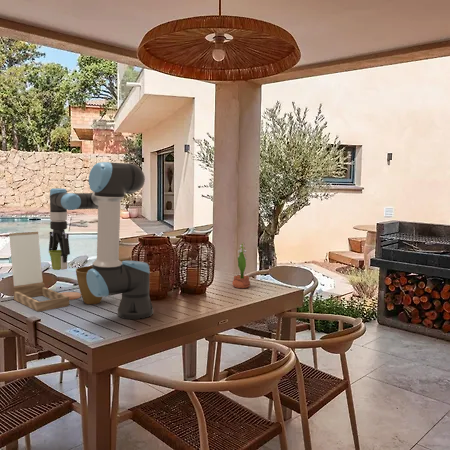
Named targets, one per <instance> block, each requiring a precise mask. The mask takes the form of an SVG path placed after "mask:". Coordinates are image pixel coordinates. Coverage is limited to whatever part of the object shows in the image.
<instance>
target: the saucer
mask: <svg viewBox="0 0 450 450" xmlns="http://www.w3.org/2000/svg"><path fill="white" fill-rule="evenodd" d="M59 293H60V294H63V295H65V296H68V297H69V301H72V300H73V301H74V300H77V299H81V297H82V295H81V292H77V291H64V292H59Z"/></svg>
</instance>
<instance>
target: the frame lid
mask: <svg viewBox="0 0 450 450" xmlns="http://www.w3.org/2000/svg"><path fill="white" fill-rule="evenodd" d="M8 237H9V243H10V257H11V268H12V280H13V281H12V282H13V287H19V286H26V285H33V284H39V283H44V282H43V271H42V259H41V258H42V257H41V250H40V249H41V248H40V247H41V246H40V239H39V231H27V232H12V233H10V232H9V233H8Z"/></svg>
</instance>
